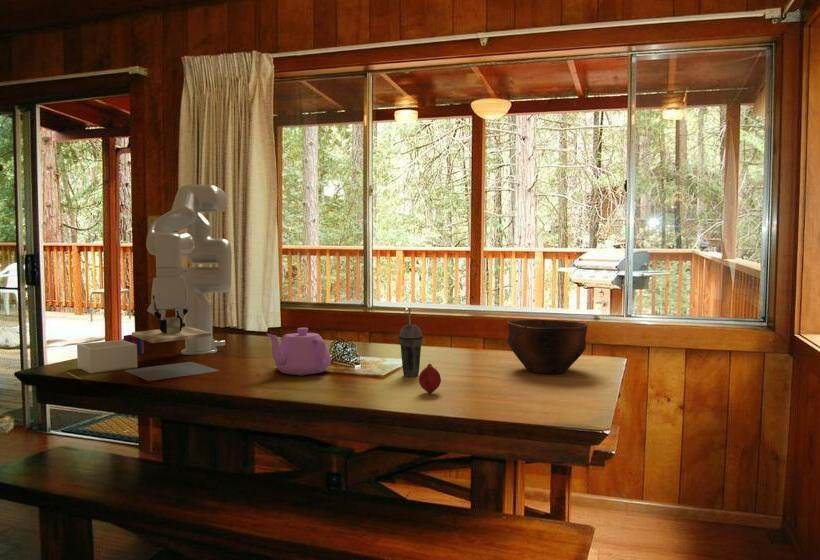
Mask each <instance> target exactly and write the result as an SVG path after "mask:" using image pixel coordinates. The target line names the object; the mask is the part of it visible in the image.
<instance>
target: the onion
mask: <svg viewBox="0 0 820 560" xmlns="http://www.w3.org/2000/svg"><path fill="white" fill-rule="evenodd" d="M418 383H419V386H420V387H421V389H423V390H424V391H425V392H426V393H427V394H433V393H434V392H435V391H436V390H437V389H438V388H439V387H440V385H441V383H442V378H441V374H440V372H439V371H438V370H437V369H436V367H434V366H433V364H432V363H428V364H427V366H426V367H425V368H423V369H422V371H420V372H419V376H418Z"/></svg>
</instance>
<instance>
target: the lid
mask: <svg viewBox="0 0 820 560" xmlns="http://www.w3.org/2000/svg"><path fill="white" fill-rule="evenodd" d="M165 320H166V326H167V332H166V333H163V332H161V330H160V328H159V329H151V330H150V329H149V330H142V331H133V332H131V335H132V336H134V337H137V338H140V339H143V341H146V342H147V343H148V342H149V343H151V344H156V343H163V342H164V343H165V342H174V341H181V340H185V339H191V338H199V337H208V336H211V333H210V332H206V331H203V330H199V329H195V328H192V327H188V326H187V327H185V326H183V328H182V331H180V318H177V316H172V317H165Z"/></svg>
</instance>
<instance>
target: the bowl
mask: <svg viewBox="0 0 820 560" xmlns="http://www.w3.org/2000/svg"><path fill="white" fill-rule="evenodd" d="M506 325H507V327H508V330H509V331H508V335H507V345H508V346H509V348H510V349H511V351H512V353H513V354H514V355H515V357H516V358H517V359H518V361H520V363H521V364H522V365H523V367H524V368H525V370H527V371H529V372H533V373H538V374H539V373H540V374H561V373H565V372H566V371H568V370H569V368H571V366H573V364H575V362H576V361H578V359H579V358H581V356H582V354H583V353H584V352H585V351H586V349H587V348H586V347H587V342H586V337H587V330H588V327H589V325H588V324H586V323H583V322H578V321H574V320H573V321H571V320H570V321H568V320H567V321H566V320H558V319H557V320H555V319H553V320H551V319H519V320H509V321H506Z"/></svg>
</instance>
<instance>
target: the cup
mask: <svg viewBox="0 0 820 560" xmlns="http://www.w3.org/2000/svg"><path fill="white" fill-rule="evenodd" d="M121 340H124V341H128V342H131V343H134V344H137V356H138V355H139V356H140V355H143V354H144V353H145V350H144V348H145V346H144V342H145V340H143V339H140V338H137V337H134V336H132V334H126V335H123V338H122V339H121Z"/></svg>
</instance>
